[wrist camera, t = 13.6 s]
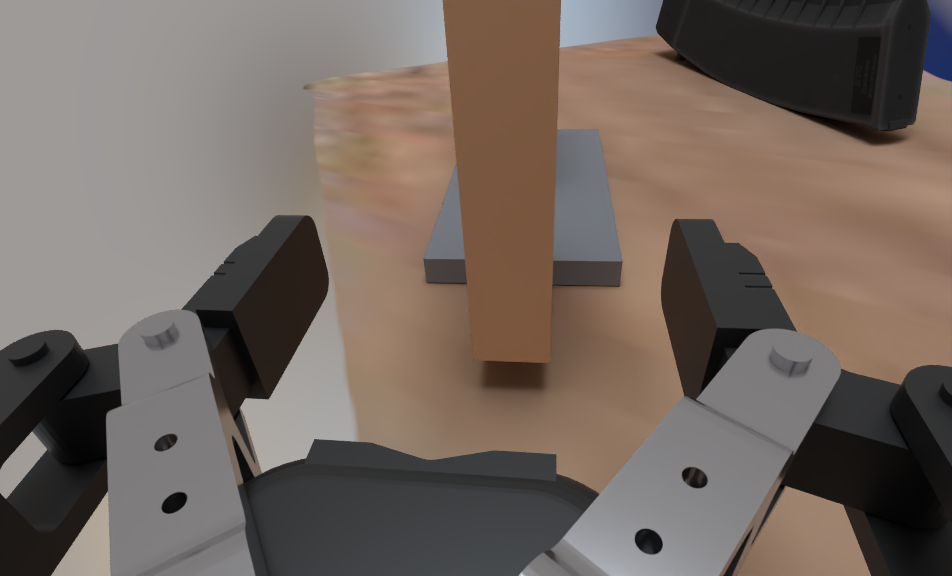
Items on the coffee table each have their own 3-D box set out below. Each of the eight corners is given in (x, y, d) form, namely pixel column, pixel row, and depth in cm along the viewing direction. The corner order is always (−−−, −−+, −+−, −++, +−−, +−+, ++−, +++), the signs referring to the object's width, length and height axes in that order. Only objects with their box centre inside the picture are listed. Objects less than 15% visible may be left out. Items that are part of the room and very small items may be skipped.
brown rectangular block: (550, 251, 27) (559, -84, 19) (550, 363, 21) (562, -66, 13) (491, 250, 28) (475, -78, 20) (473, 360, 21) (437, -59, 13)
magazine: (1006, 11, 33) (732, -143, 50) (963, 17, 32) (701, -141, 49) (845, 214, 46) (674, 38, 63) (813, 221, 46) (649, 41, 63)
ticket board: (596, 148, 42) (615, -101, 33) (619, 286, 28) (664, -88, 18) (468, 149, 43) (451, -90, 34) (426, 282, 29) (377, -69, 20)
